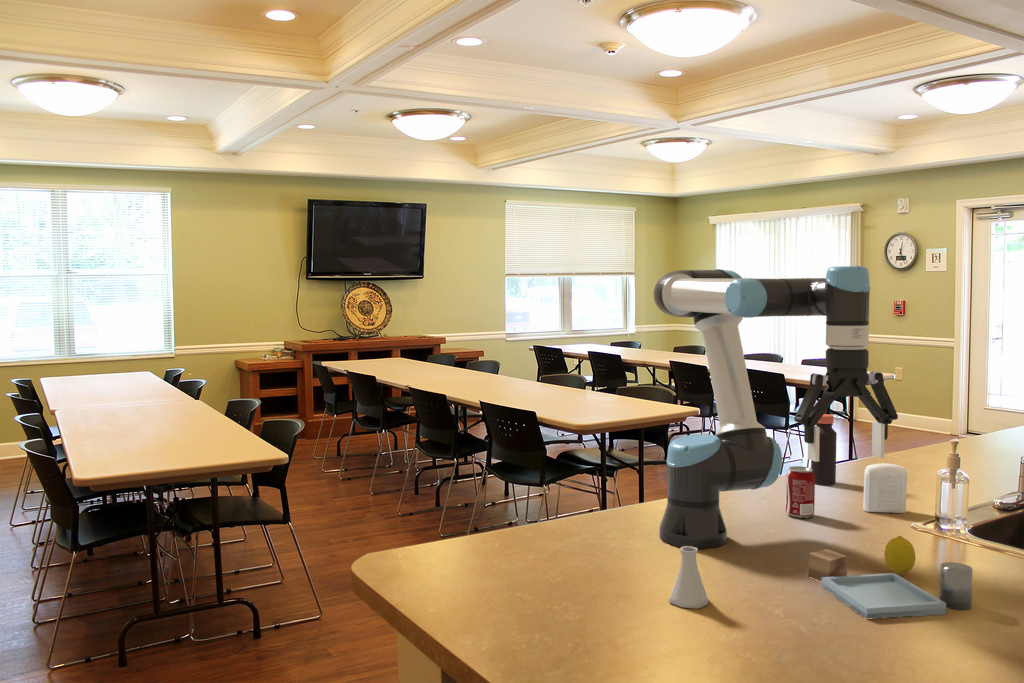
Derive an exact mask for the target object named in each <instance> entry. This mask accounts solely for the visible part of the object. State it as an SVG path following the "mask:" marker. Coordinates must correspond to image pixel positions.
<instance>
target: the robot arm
mask: <svg viewBox="0 0 1024 683" xmlns="http://www.w3.org/2000/svg"><path fill="white" fill-rule="evenodd" d="M825 275H826V276H825V277H807V278H805V277H801V278H799V277H797V278H796V277H795V278H752V277H750V278H749V277H744V278H743V277H742V276H741V275H740V274H738V273H737V272H735V271H733V270H730V269H729V270H728V269H727V270H726V269H720V268H718V269H678V270H673V271H669V272H667V273H666V274H664V275H663V276H662V275H661V277H660V278H659V279H658V281H657V282H656V284H655V286H654V289H653V300H654V303H655V305H656V307H657V308H658V310H660V311H661V312H662V313H664V314H665V315H668V316H671V317H674V318H693V322H694V328H695V329H697V330H698V331H700V332H701V334H702V337H703V343H704V347H705V353H706V358H707V364H708V369H709V370H708V371H709V373H710V375H709V376H710V380H711V385H712V391H713V396H714V402H715V407H716V413H717V417H718V418H717V419H718V422H719V423H718V424H719V429H718V430H717V431H716V433H715V435H714V434H709V433H708V434H707V433H702V434H689V435H688V434H687V435H684V436H680V437H677V438H675V439H674V440H672V441H671V442H670V443H669V444H668V448H667V455H666V456H667V457H666V465H667V468H666V470H667V473H666V474H667V476H666V479H667V480H666V481H667V485H666V486H667V488H666V489H667V491H666V494H667V495H666V496H667V502H666V507H665V510H664V513H663V516H662V519H661V522H660V525H659V538H660V540H662V541H663V542H665V543H666V544H669V545H672V546H675V547H680V548H681V547H684V546H691V547H695V548H698V549H711V548H717V547H720V546H722V545H724V544H726V543H727V541H728V531H727V527H726V523H725V521H724V517H723V514H722V511H721V507H720V493H722V492H731V491H741V490H743V491H744V490H750V489H751V490H758V489H762V488H767V487H770V486H772V485H773V484H775V482H776V481H777V480H778V478H779V475H780V474H781V471H782V467H783V453H782V449H781V446H780V444H779V443H777V441H776V439H775V438H773V437H770V436H767V430H766V427H765V426H764V425H762V424H760V423H759V422H758V421H757V415H756V409H755V404H754V401H753V400H754V399H753V395H752V394H753V393H752V390H751V384H750V381H749V380H750V379H749V375H748V370H747V369H748V368H747V365H746V359H745V354H744V350H743V345H742V340H741V335H740V329H739V325H740V323H741V322H742V321H743V320H744V319H745V318H746V319H748V318H749V319H750V318H751V319H752V318H760V317H764V318H765V317H805V316H806V317H813V316H814V317H816V316H817V317H818V316H819V317H821V316H823V317H825V316H826V321H825V324H826V325H825V345H826V346H827V347H828V348H826V350H825V367H826V373H825V375H824V374H819V373H811V374H810V378H809V385H808V388H807V390H806V392H805V394H804V396H803V399H802V401H801V402H800V406H799V407H798V409H797V412H796V413H795V416H794V421H795V423H799V424H802V425H803V434H804V435H803V437H804V439H803V440H804V443H807V460H810V461H811V460H812V461H815V462H818V461H819V427H817V426H816V424H817V422H818V421H819V420H820V418H821V417H822V416H823V415H824V414H826V412H827V411H828V409H829V408H830V407H831V406H832V404H833V403H834V401H836V400H838V399H839V397H840V398H847V397H852V398H853V397H854V398H855V397H856V398H858V399H859V400H860V401H861V403H862V404H863V405H864V406H865V408H866V409H867V410H868V412H869V413H870V415H871V416H872V417H873V418H874V419H875V421H872V423H871V424H872V426H871V433H872V434H871V456H873V457H876V458H879V459H884V458H885V441H886V440H888V432H889V425H890V424H892V422H893V420H894V421H895V420H898V417H899V415H898V412H897V410H896V408H895V406H894V404H893V402H892V399H891V398H890V397H891V396H890V394H889V392H888V390H887V388H886V386H885V381H884V374H883V372H880V371H870V373H868V371H867V370H868V368H869V362H870V361H869V359H870V358H869V357H870V356H869V354H870V352H869V350H868V349H867V348H866V347H868V346H869V344H870V343H869V341H870V340H869V334H870V333H869V331H870V330H869V329H870V327H869V326H870V325H869V324H870V322H869V321H870V290H871V285H870V271H869V270H868V268H867V266H859V265H851V266H850V265H849V266H848V265H846V266H843V265H841V266H830V267H829V268H827V270H826V274H825ZM868 383H869V384H870V387H871V390H872V391H873V393H874V396H875V398H876V400H875V398H874V397H873V395H871V394H872V393H871V392H870V390H869V389H868V388H867V386H866V385H867V384H868ZM824 385H827V386H826V387H825V389H824V390H823V392H822V388H823V386H824ZM821 392H822V395H821V397H820V394H821ZM819 397H820V398H819ZM818 398H819V399H818Z"/></svg>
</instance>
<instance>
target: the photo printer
mask: <svg viewBox="0 0 1024 683" xmlns="http://www.w3.org/2000/svg"><path fill="white" fill-rule="evenodd" d="M863 474H864V475H863V476H864V478H863V505H862V510H863V511H865V512H867V513H890V512H891V513H895V514H896V513H898V514H906V511H907V510H906V509H907V489H908V488H907V487H908V486H907V485H908V484H907V483H908V480H907V479H908V472H907V469H906V467H904V466H902V465H898V464H893V463H873V464H870V465H866V466H865V468H864V473H863Z"/></svg>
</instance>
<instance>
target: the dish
mask: <svg viewBox="0 0 1024 683" xmlns="http://www.w3.org/2000/svg"><path fill="white" fill-rule="evenodd" d="M822 587H823V588H824V589H826V590H827V591H828V592H827V591H826V590H825V591H826V592H827V593H829V592H830V593H831V594H833V595H834V596H835V598H836V597H837V598H838V599H840V600H841V601H843V602H844V603H846V604H847V605H849V606H850V607H851V608H853V609H854V610H856V611H857V612H858V613H859V614H861V615H862V616H863V617H862V616H861V615H860V616H861V617H862V618H864V617H865V618H866V619H867V618H883V617H898V618H902V617H901V616H912V617H921V616H922V617H924V616H925V617H927V616H938V615H939V616H940V615H946V614H947V607H946V603H945V602H944V601H942V600H940V598H938V597H937V596H935V595H933V594H931V593H930V592H928V591H926V590H924V589H923V588H921V587H919V586H918V585H916V584H914V583H912V582H911V581H909V580H907V579H906V578H904V577H902V576H899V575H897V574H896V572H888V573H887V572H886V573H885V572H883V573H870V574H856V575H855V574H853V575H852V574H851V575H847V576H835V577H822V583H821V588H822ZM823 588H822V589H823ZM824 589H823V590H824ZM830 593H829V594H830ZM831 594H830V595H831ZM833 595H832V596H833ZM834 596H833V597H834ZM837 598H836V599H837ZM838 599H837V600H838ZM840 600H839V601H840ZM841 601H840V602H841ZM843 602H842V603H843ZM844 603H843V604H844ZM847 605H846V606H847ZM850 607H849V608H850ZM851 608H850V609H851ZM854 610H853V611H854ZM857 612H856V613H857ZM858 613H857V614H858ZM859 614H858V615H859ZM865 618H864V619H865ZM866 619H865V620H866Z"/></svg>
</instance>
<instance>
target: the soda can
mask: <svg viewBox="0 0 1024 683" xmlns="http://www.w3.org/2000/svg"><path fill="white" fill-rule="evenodd" d="M785 477H786V479H785V513H786V514H787V515H789V516H790V515H791V516H790V517H792V516H794V517H793V518H795V517H801V518H800V519H807V518H806V517H809V518H811V517H813V516H814V515H815V500H816V499H815V493H816V492H815V491H816V489H815V488H816V486H815V485H816V484H815V476H814V474H813V473H812V469H811V467H809V466H801V465H799V466H797V465H795V466H789V467H788V472H787V473H786V475H785Z"/></svg>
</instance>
